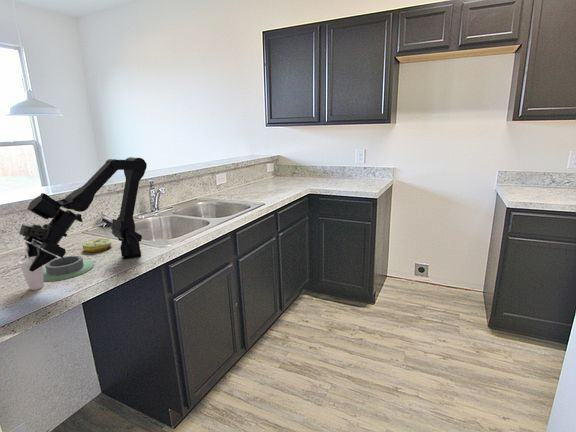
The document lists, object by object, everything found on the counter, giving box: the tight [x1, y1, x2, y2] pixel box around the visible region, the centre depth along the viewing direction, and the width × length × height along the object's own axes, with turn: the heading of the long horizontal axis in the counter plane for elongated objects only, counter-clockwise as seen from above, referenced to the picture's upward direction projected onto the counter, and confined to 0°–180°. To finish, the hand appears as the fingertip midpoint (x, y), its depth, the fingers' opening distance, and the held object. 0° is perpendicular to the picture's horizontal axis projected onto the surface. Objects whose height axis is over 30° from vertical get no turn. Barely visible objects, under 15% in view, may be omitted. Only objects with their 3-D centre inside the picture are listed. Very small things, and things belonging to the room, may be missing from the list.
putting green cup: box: [43, 255, 95, 282], centre depth 122 cm, size 18×18×3 cm
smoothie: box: [17, 246, 45, 291], centre depth 108 cm, size 6×6×14 cm
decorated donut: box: [82, 237, 113, 253], centre depth 144 cm, size 10×11×4 cm
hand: (26, 268), depth 107 cm, fingers closed on smoothie, 6 cm apart
